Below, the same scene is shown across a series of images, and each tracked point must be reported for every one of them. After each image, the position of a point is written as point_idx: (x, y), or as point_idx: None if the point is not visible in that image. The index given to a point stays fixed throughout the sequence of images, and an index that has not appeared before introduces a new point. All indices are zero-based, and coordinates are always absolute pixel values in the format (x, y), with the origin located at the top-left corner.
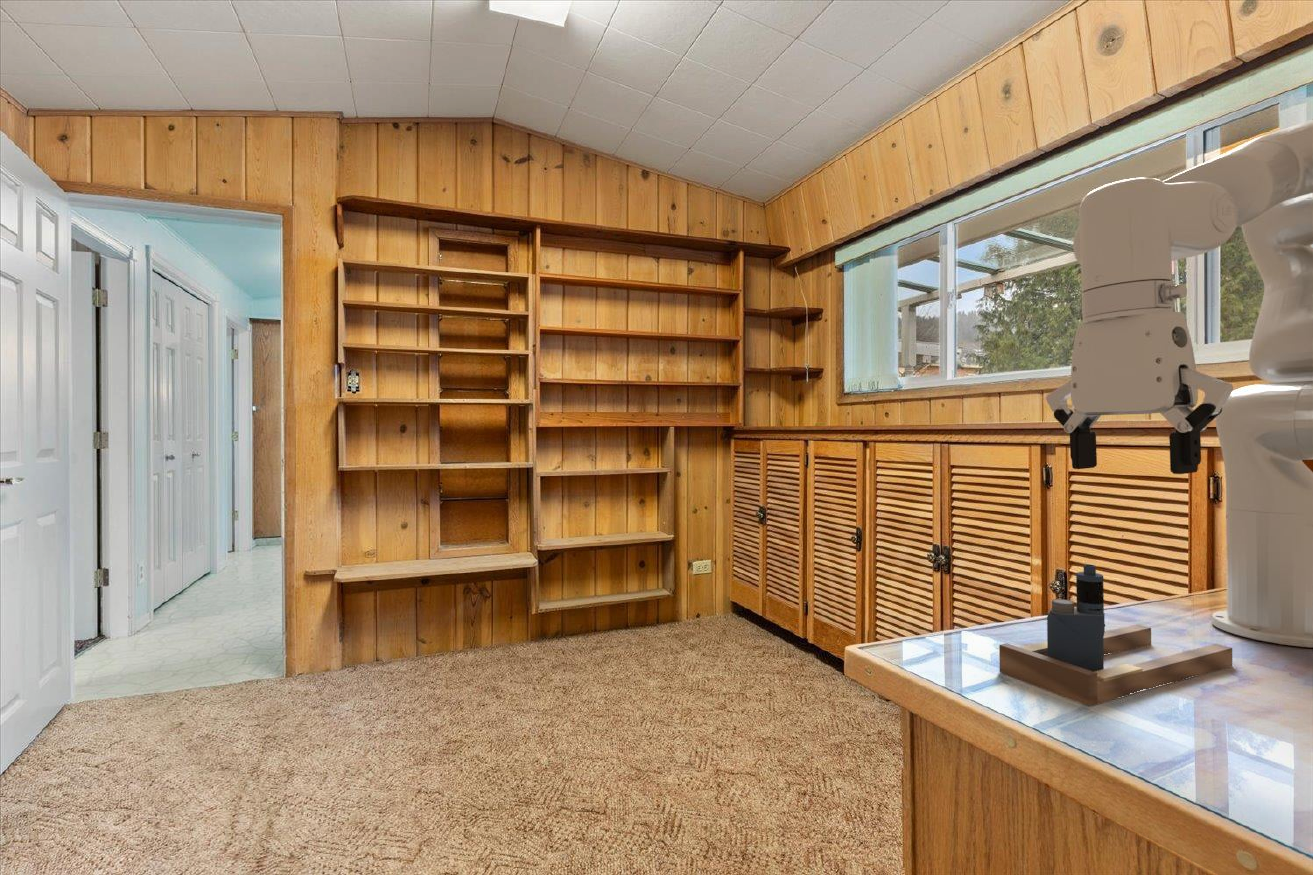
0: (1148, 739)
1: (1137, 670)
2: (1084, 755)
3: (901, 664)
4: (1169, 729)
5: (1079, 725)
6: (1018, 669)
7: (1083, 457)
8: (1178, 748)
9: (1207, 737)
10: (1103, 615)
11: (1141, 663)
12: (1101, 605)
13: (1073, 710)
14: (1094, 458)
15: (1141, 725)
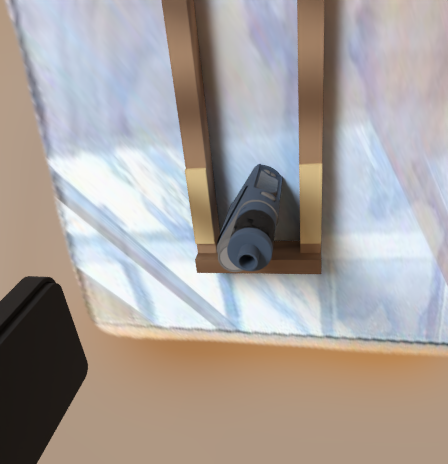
0: (397, 274)
1: (321, 174)
2: (383, 345)
3: (150, 321)
4: (397, 234)
5: (343, 299)
6: None
7: (59, 385)
8: (424, 269)
9: (430, 219)
10: (277, 215)
11: (301, 130)
12: (275, 226)
13: (317, 274)
14: (40, 317)
15: (376, 250)
